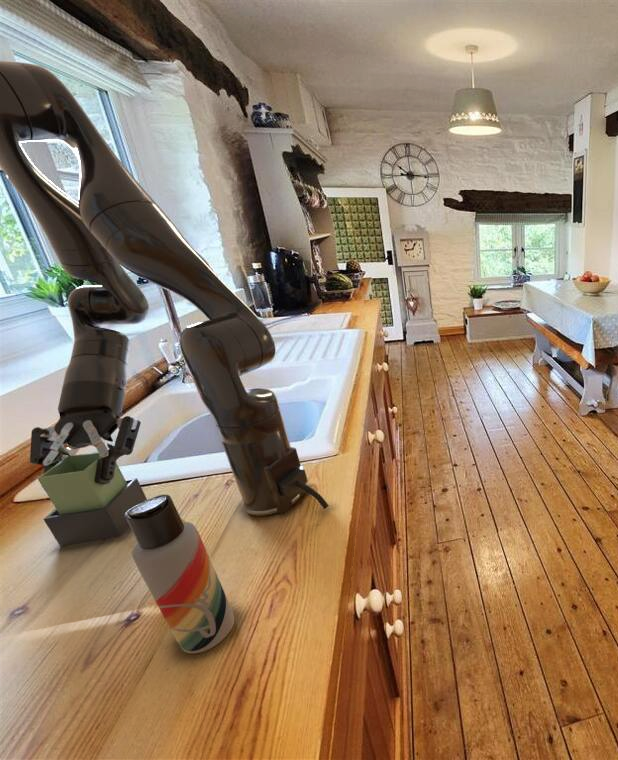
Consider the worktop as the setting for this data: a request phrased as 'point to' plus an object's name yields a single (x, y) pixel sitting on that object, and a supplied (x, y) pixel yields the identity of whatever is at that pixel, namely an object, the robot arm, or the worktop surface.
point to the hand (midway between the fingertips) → (77, 486)
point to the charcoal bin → (96, 519)
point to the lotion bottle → (179, 575)
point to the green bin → (80, 484)
